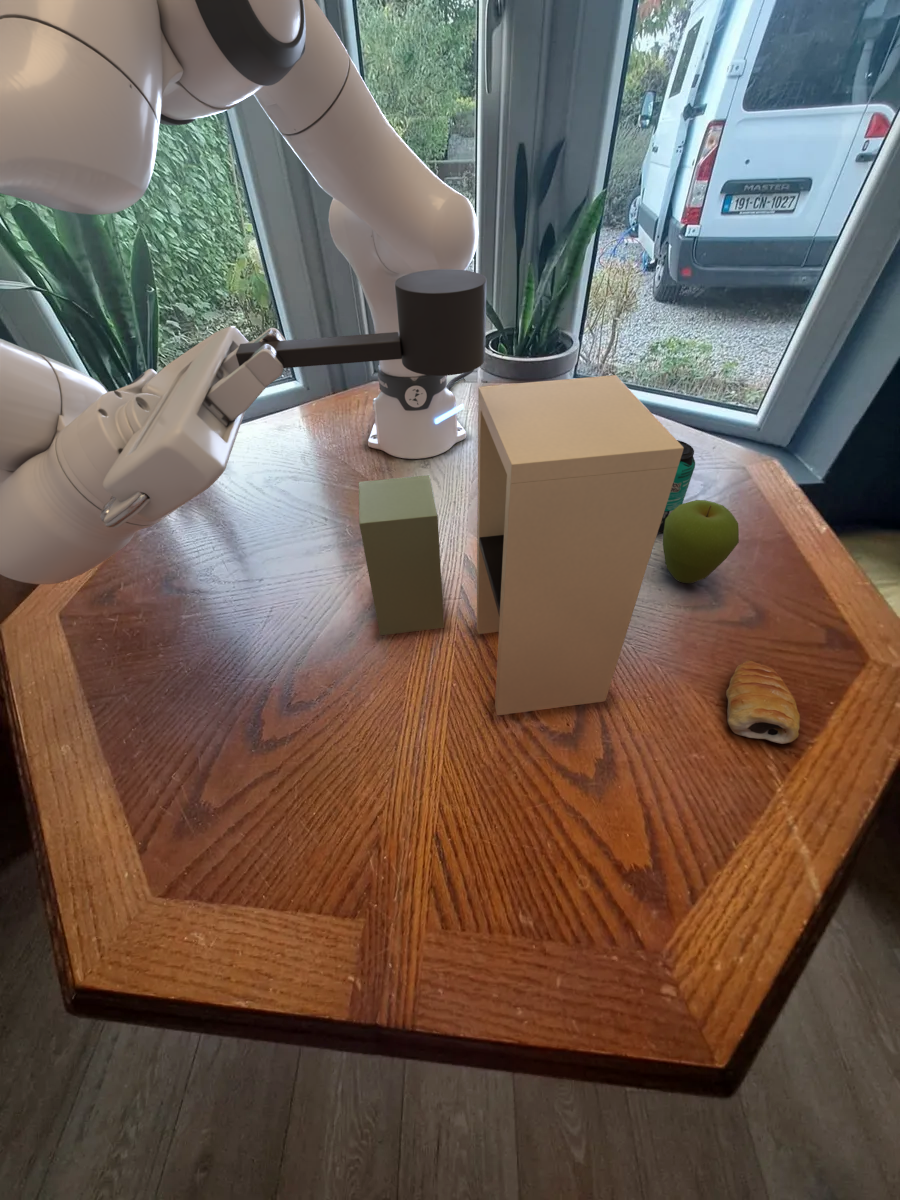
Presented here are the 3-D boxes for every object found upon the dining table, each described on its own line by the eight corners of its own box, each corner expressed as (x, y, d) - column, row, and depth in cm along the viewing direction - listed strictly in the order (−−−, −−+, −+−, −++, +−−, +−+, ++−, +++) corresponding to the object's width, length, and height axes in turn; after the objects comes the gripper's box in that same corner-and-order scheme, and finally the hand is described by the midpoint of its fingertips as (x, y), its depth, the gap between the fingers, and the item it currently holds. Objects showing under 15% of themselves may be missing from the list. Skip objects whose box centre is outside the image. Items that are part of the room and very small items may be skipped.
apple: (637, 566, 72) (658, 495, 64) (687, 551, 74) (713, 480, 66) (678, 607, 66) (706, 534, 58) (731, 589, 68) (766, 517, 60)
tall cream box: (476, 627, 65) (478, 386, 44) (570, 616, 66) (616, 374, 45) (496, 715, 56) (511, 464, 35) (605, 701, 56) (684, 447, 35)
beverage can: (630, 504, 83) (648, 433, 74) (676, 512, 81) (700, 440, 72) (624, 529, 78) (642, 456, 70) (673, 538, 76) (698, 465, 68)
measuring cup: (251, 359, 39) (229, 283, 35) (477, 342, 40) (478, 266, 36) (238, 392, 34) (212, 309, 31) (492, 372, 36) (494, 289, 32)
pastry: (718, 665, 59) (730, 643, 57) (783, 678, 58) (798, 656, 55) (725, 735, 53) (738, 715, 50) (797, 752, 52) (816, 731, 49)
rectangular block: (377, 591, 70) (358, 481, 58) (436, 585, 71) (429, 474, 59) (380, 635, 64) (359, 523, 52) (444, 628, 65) (437, 515, 53)
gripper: (41, 503, 30) (212, 363, 26) (143, 370, 45) (263, 267, 41) (140, 569, 34) (301, 456, 30) (204, 427, 49) (318, 339, 45)
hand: (279, 347), depth 36 cm, fingers closed on measuring cup
